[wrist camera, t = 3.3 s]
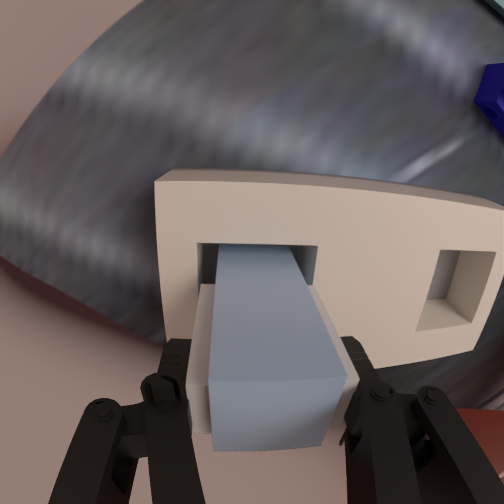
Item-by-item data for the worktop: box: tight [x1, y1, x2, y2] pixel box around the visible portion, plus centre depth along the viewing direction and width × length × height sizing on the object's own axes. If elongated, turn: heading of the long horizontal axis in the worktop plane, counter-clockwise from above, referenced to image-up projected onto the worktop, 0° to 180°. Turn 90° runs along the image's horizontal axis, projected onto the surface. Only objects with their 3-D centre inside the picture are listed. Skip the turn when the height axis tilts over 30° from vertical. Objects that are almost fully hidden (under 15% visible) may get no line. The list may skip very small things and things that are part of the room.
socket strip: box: [154, 168, 504, 369], centre depth 19 cm, size 24×12×5 cm, turn 87°
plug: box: [208, 243, 347, 451], centre depth 14 cm, size 4×5×12 cm
